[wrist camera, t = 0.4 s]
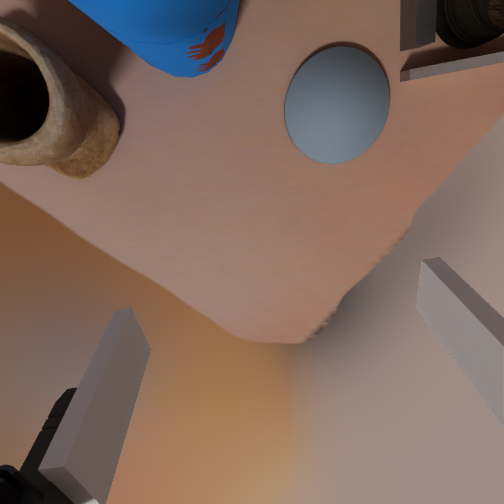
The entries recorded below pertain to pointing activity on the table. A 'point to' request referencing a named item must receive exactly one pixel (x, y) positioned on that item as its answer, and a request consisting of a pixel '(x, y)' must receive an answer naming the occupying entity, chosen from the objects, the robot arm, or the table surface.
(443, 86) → the table surface
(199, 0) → the thermos
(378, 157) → the table surface
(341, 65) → the mat
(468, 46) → the container
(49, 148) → the stone cup
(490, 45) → the table surface
